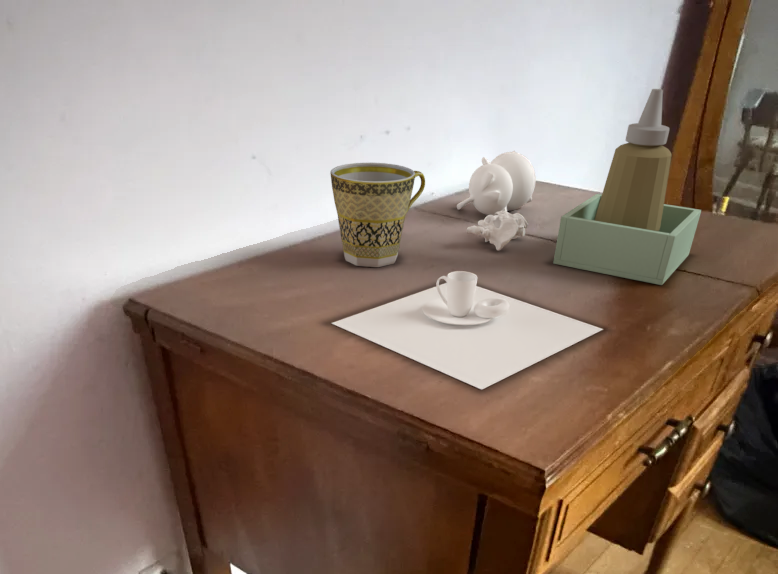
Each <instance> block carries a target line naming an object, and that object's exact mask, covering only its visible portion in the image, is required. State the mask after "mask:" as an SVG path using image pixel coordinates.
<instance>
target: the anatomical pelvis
mask: <svg viewBox="0 0 778 574" xmlns="http://www.w3.org/2000/svg"><path fill="white" fill-rule="evenodd" d="M528 226H529V223H528V221H527V219H526V218H525V217H524V216H523V215H522V214H521V213H519V212H515V213H511V212H510V211H509V212H508V211H507V212H506V211H503V210H501V211H500V212H496V213H495V214H494V215H485V218H484V219H480V220H478V221H477V225H474V224H473V225H471V226H468V227H466V233H467V234H473V235H476V236H479V237H483V239H485V240H484V242H485V243H488V242H489V244H491V245H494V246H495V250H496V251H497V252H498V251H501V250H502V249H503V248H504V247H505V246H506V245H507V244H508V243H509V242H511V240H516V239H517V238H519V237H522V238H523V237H525V236H526V231H527V228H528Z"/></svg>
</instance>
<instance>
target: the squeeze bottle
mask: <svg viewBox="0 0 778 574" xmlns="http://www.w3.org/2000/svg"><path fill="white" fill-rule="evenodd" d="M663 93H664V90H663V89H661V88H652V89H651V91H650V93H649V96H648V97H647V100H646V103H645V105H644V107H643V110H642V112H641V115H640V117H639V120H638V122H637V123H630V124H628V126H627V132H626V135H625V142H626V143H622V144H620V145H618V147H616V148H615V150H614V153H613V157H612V160H611V163H610V166H609V170H608V173H607V177H606V181H605V183H604V186H603V190H602V196H601V200H600V203H599V207H598V210H597V213H596V217H595V220H594V221H600V222H606V223H612V224H618V225H623V226H629V227H635V228H641V229H647V230H653V231H659V230H660V226H661V219H662V213H663V207H664V204H665V199H666V195H667V194H666V193H667V187H668V181H669V175H670V168H671V162H672V157H673V154H672V152H671V150H670V149H669V148H667V147H666V146H664V145H666V144H667V142H668V138H669V133H670V127H669V126H666V125H663V124H662V117H663V116H662V115H663Z"/></svg>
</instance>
